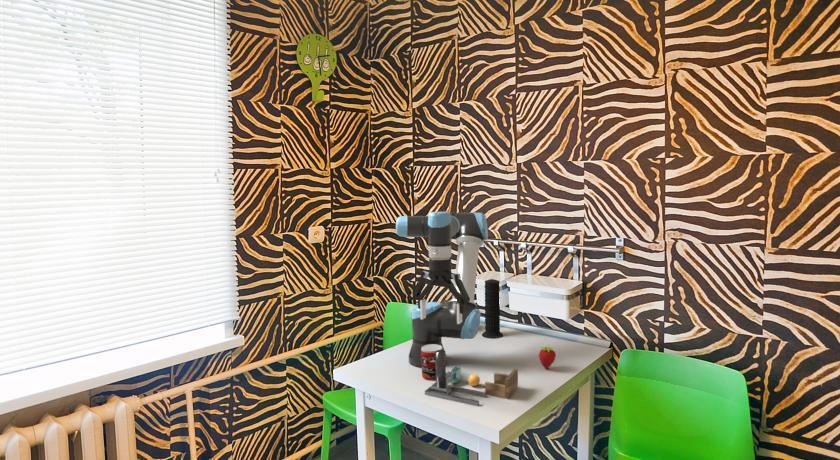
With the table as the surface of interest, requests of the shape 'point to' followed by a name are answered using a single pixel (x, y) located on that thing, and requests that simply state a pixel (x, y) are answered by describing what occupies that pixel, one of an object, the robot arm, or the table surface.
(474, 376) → the ball
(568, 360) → the table surface
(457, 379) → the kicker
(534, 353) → the table surface
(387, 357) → the table surface
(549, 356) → the strawberry
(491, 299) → the handle grip
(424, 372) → the canned food
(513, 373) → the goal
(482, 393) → the rail
